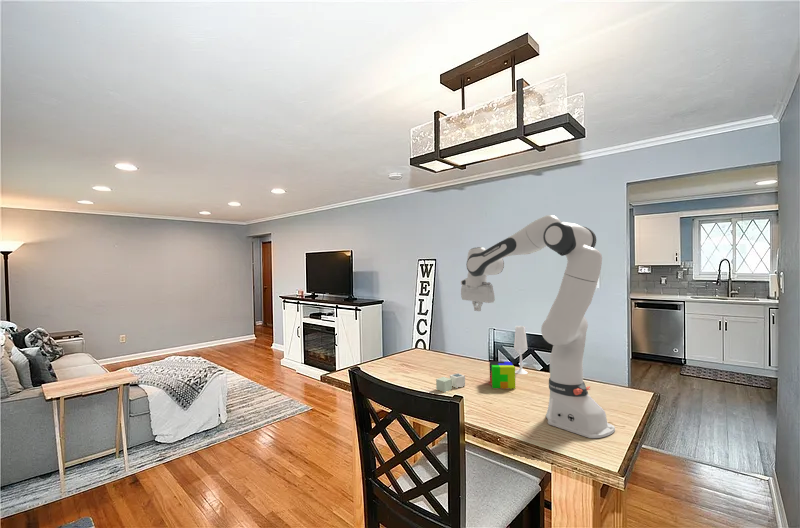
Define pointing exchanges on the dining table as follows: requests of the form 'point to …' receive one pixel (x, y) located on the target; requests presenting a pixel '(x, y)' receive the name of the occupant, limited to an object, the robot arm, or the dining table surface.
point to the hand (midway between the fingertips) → (477, 310)
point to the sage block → (443, 384)
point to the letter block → (457, 380)
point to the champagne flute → (520, 345)
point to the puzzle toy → (502, 374)
